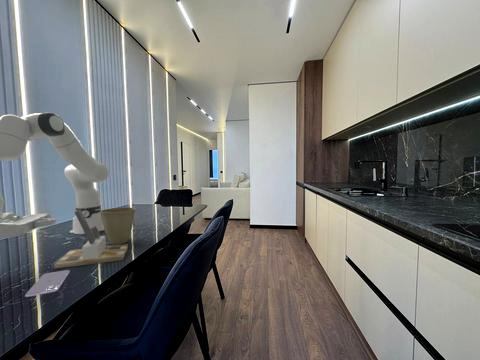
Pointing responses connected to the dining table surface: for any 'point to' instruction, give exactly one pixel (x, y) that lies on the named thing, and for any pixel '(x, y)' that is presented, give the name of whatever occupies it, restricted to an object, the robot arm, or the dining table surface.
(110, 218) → the plant pot
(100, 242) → the switch housing
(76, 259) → the base
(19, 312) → the dining table surface
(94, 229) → the aux switch
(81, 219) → the main switch
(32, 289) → the mobile phone
